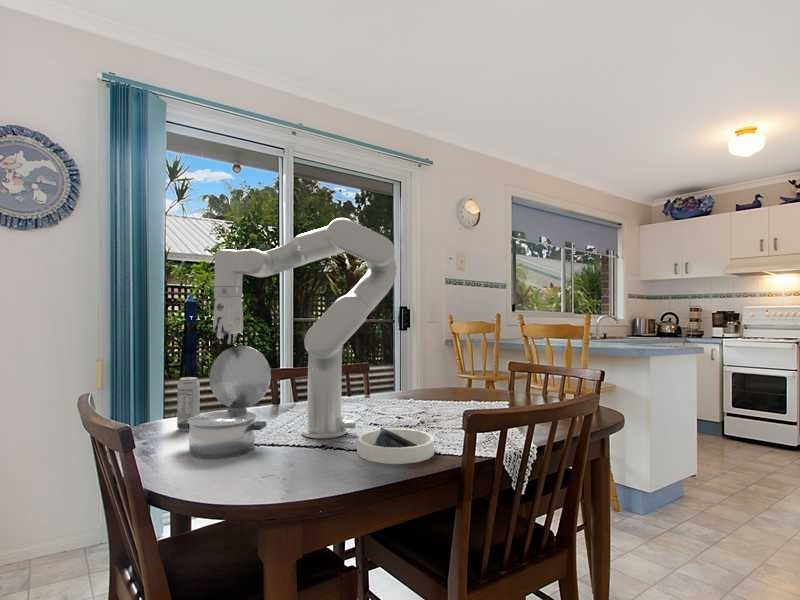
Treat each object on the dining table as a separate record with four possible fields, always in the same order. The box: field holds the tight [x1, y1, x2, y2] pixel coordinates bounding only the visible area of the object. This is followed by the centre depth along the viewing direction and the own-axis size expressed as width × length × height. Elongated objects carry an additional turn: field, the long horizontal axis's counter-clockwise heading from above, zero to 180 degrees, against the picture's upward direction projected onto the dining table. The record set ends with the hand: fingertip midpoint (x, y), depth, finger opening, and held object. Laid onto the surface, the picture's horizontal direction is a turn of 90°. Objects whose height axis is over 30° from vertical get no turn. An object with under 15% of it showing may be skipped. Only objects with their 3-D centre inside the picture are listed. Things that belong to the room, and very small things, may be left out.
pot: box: [177, 410, 267, 460], centre depth 127 cm, size 21×18×8 cm
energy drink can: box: [176, 376, 201, 432], centre depth 147 cm, size 6×6×15 cm
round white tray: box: [356, 427, 435, 465], centre depth 124 cm, size 19×19×4 cm
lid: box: [209, 345, 272, 412], centre depth 138 cm, size 17×18×4 cm
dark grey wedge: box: [375, 427, 417, 448], centre depth 122 cm, size 10×7×12 cm
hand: (226, 358), depth 141 cm, fingers closed
